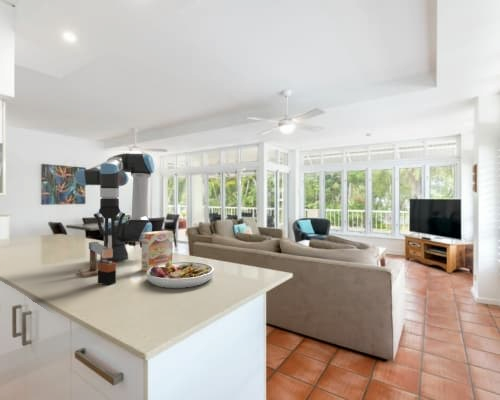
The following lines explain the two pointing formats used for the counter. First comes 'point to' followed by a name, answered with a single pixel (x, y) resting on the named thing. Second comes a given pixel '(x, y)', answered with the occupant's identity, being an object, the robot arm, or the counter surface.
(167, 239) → the coffeecake box
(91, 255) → the arm post
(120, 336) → the counter surface
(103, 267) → the battery
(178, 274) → the bowl
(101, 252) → the swing arm
